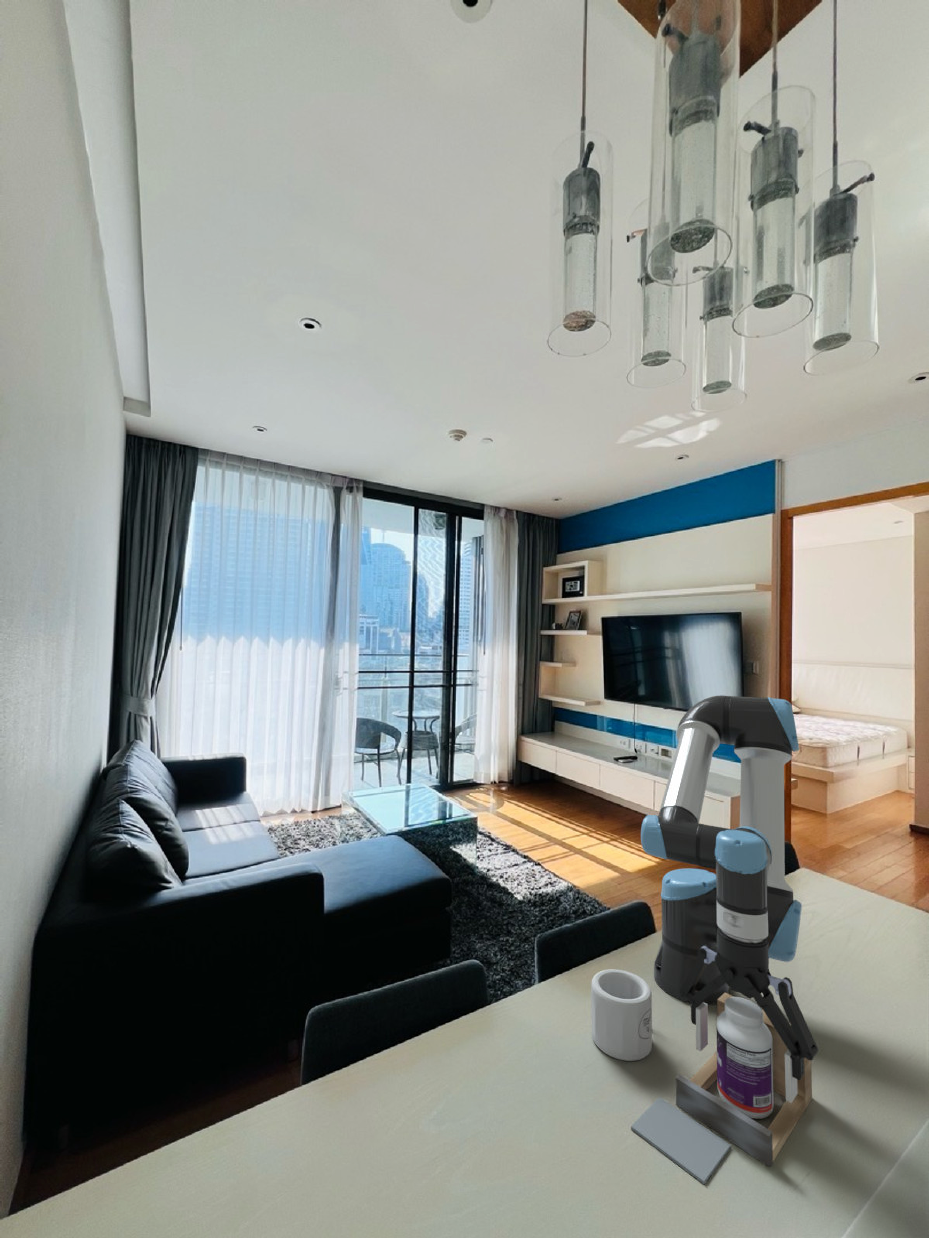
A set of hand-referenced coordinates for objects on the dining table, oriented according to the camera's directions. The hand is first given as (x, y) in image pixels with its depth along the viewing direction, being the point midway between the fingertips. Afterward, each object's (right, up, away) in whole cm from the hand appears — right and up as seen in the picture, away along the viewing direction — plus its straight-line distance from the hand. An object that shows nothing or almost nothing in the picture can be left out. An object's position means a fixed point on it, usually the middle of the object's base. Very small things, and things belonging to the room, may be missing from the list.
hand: (744, 1070), depth 85 cm
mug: (-15, -6, +14) cm, 21 cm away
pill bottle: (0, -5, 0) cm, 5 cm away
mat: (-13, -4, -7) cm, 15 cm away
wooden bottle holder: (-1, -5, -1) cm, 5 cm away
